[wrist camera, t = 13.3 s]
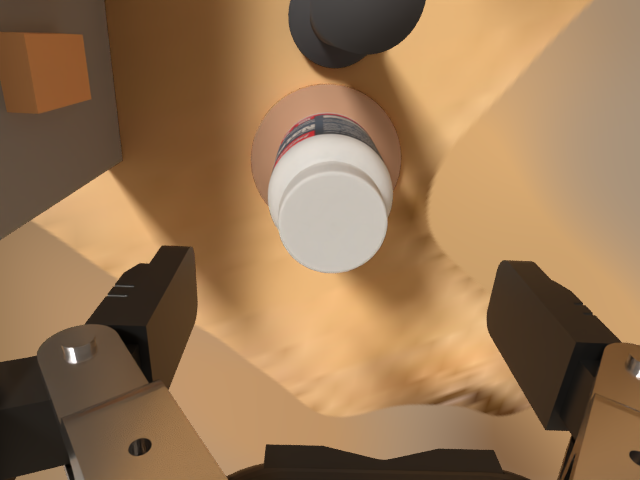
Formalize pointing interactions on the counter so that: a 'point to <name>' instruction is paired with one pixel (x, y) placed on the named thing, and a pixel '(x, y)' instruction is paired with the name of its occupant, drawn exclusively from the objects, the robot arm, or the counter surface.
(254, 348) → the counter surface
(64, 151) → the panel
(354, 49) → the post
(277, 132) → the coaster
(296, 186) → the pill bottle
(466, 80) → the counter surface
